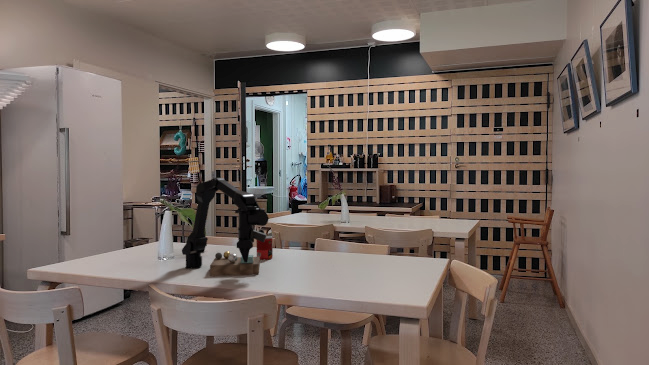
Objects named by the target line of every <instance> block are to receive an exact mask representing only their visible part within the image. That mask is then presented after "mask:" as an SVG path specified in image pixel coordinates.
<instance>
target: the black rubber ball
mask: <svg viewBox="0 0 649 365" xmlns="http://www.w3.org/2000/svg"><path fill="white" fill-rule="evenodd" d="M214 256H215V258H216V259H221V258H223V254H222V253H221V252H217V253H215V255H214Z"/></svg>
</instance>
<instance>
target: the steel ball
mask: <svg viewBox="0 0 649 365" xmlns="http://www.w3.org/2000/svg"><path fill="white" fill-rule="evenodd" d="M237 257H238V255H237V254H235V253H230V255H229V256H228V261H229V262H230V263H235V262H236V261H237V259H238V258H237Z"/></svg>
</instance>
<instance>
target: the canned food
mask: <svg viewBox="0 0 649 365" xmlns="http://www.w3.org/2000/svg"><path fill="white" fill-rule="evenodd" d="M256 257H260V261H267V260H272V259H273V236H272V235H267V236H266V238H265V241H264V242H261V241H259V240H256Z"/></svg>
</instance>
